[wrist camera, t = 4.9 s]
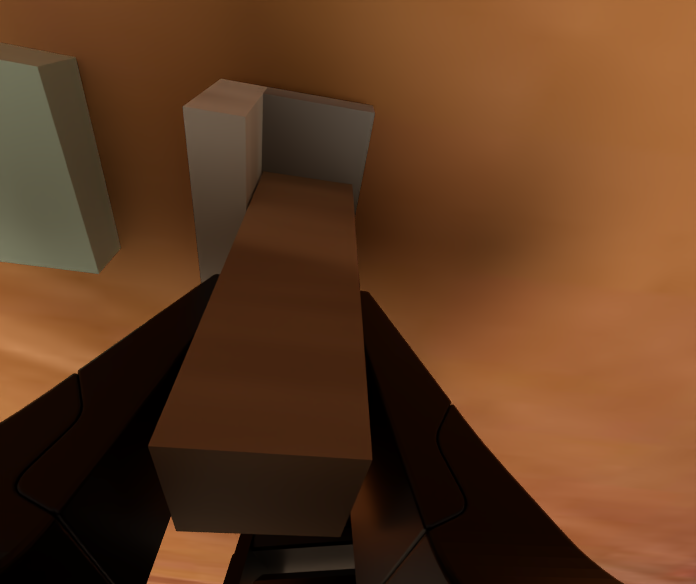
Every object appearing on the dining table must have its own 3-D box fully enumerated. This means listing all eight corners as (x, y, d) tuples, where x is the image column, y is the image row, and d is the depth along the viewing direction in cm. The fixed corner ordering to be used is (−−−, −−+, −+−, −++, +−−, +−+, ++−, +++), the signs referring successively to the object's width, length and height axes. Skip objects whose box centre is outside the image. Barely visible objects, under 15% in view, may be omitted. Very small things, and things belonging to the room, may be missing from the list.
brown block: (338, 289, 14) (338, 573, 7) (229, 276, 13) (117, 568, 7) (372, 105, 10) (447, 349, 3) (220, 78, 10) (-78, 297, 3)
